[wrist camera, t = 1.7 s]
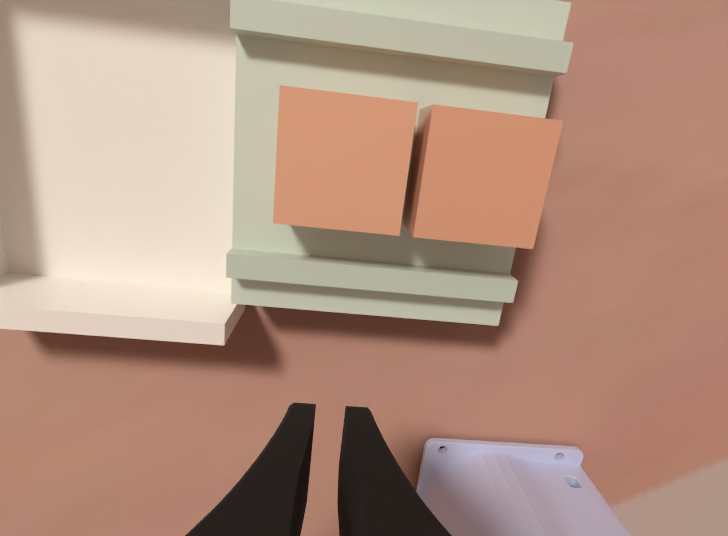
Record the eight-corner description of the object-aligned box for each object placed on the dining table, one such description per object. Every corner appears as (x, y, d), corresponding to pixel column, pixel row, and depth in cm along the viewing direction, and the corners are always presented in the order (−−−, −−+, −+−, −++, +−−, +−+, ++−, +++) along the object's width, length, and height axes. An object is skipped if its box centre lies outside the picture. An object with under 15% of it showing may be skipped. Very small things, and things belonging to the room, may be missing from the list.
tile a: (531, 123, 16) (563, 120, 14) (507, 234, 18) (533, 249, 15) (419, 109, 16) (433, 104, 14) (403, 223, 17) (413, 237, 15)
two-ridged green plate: (535, 23, 18) (584, -6, 14) (477, 301, 22) (505, 334, 18) (255, -17, 17) (231, -59, 13) (246, 280, 21) (225, 311, 17)
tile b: (406, 107, 16) (417, 102, 14) (391, 222, 17) (399, 236, 15) (289, 93, 16) (279, 85, 13) (282, 211, 17) (273, 223, 15)
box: (256, -59, 17) (231, -118, 13) (245, 308, 21) (224, 345, 18) (-65, -108, 16) (-195, -187, 12) (-3, 287, 20) (-83, 322, 17)
